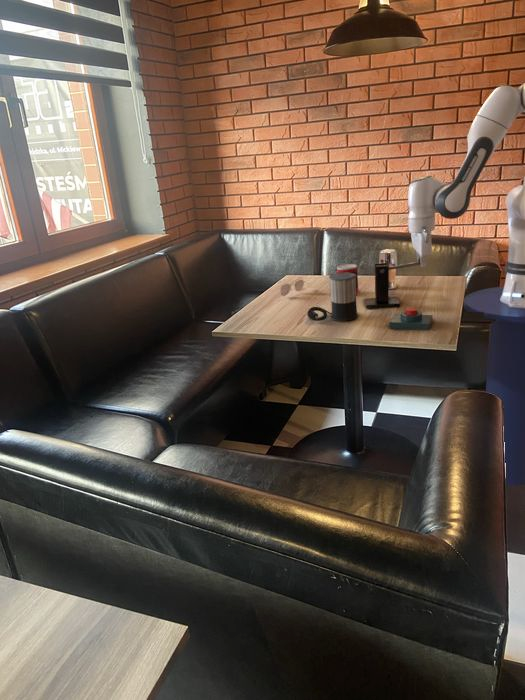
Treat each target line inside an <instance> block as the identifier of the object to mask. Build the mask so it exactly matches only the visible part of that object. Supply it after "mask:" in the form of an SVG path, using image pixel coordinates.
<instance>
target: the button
mask: <svg viewBox="0 0 525 700" xmlns="http://www.w3.org/2000/svg"><path fill="white" fill-rule="evenodd" d="M405 311H406V315H417V311H418V308H417V307H406V308H405Z"/></svg>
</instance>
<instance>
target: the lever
mask: <svg viewBox="0 0 525 700" xmlns="http://www.w3.org/2000/svg"><path fill="white" fill-rule="evenodd" d="M420 261H421V260H419V261H418V260H417V261H414V262H409V263H402V264H397V265H395V266H389V267H388V270H392V269H396V270H397V269H402V268H403V269H404V268H410V267H415V266H421V265H420Z"/></svg>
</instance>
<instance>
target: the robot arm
mask: <svg viewBox="0 0 525 700" xmlns="http://www.w3.org/2000/svg"><path fill="white" fill-rule="evenodd" d="M519 115H525V82H523V83H522V84H521V85H519V86H518V87H513V86H511V85H500V86H498V87H496V88H495V89H494V90H493V91H492V92H491V93H490V94H489V96H488V97H487V99H486V100H485V101H484V103H483V104H482V106H481V107H480V109H479V111H478V112H477V113H476V115H475V118H474V119H473V121H472V123H471V125H470V128H469V130H468V132H467V136H466V141H467V153H466V157H465V159H464V160H463V162H462V165H461V166H460V168H459V170H458V172H457V174H456V175H455V177H454V180H453V181H452V182H451V183H448V182H445V181H441V180H439V179H438V178H435V177H434V176H433V175H424V176H419V177H417V178H414V179H413V180H412V181H411V182H410V183H409V186H408V191H407V192H408V194H407V204H408V205H407V206H408V211H409V213H408V215H407V218H408V220H407V222H408V224H407V225H408V232H409V233H410V237H411V238H410V239H411V245H412V248H413V249H414V250H415V251H416V257H417V262H418V261H419V260H421V261H420V265H419V266H420V267H421V268H426V267H427V260H428V257H429V258H430V257H432V255H433V254H432V253H433V244H432V241H433V240H432V232H433V231H435V230H436V214H437V213H438V214H439V215H440V216H441V217H443V218H445V219H448V220H454V219H455V220H456V219H457V218H460V217H462V216H463V215H464V214H465V213H466V212H467V211H468V209H469V207H470V203H471V195H472V191H473V188H474V187H475V185H476V183H477V181H478V180H479V177H480V175H481V174H482V172H483V170H484V168H485V166H486V164H487V162H488V160H489V159H490V158H491V156H492V155H493V154H494V152H495V151H496V149H497V148H498V147H499V146H500V144H501V142H502V141H503V139H504V138H505V136H506V135H507V133H508V132H509V130H510V128H511V126H512V125H513V122H514V121H515V120H516V118H518V116H519ZM505 206H506V213H507V214H506V215H507V226H508V227H507V228H508V238H509V239H508V252H507V260H506V262H505V263H506V264H505V271H504V273H505V281H504V285H503V287H504V289H503V293H502V295H501V298H500V301H501V302H503V303H505V304H507V305H508V306H509V307H513V308H525V177H524V179H523V184H521V185H517V186H515V187H514V188H512V189H510V191H509V192H508V193H507V195H506V197H505Z"/></svg>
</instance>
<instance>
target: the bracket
mask: <svg viewBox="0 0 525 700" xmlns="http://www.w3.org/2000/svg"><path fill="white" fill-rule="evenodd" d="M389 290H390V289H389V271H388V265H387V263H379V262H375V263H374V297H367V298H364V303H365V305H364V306H365V308H366V309H380V308H398V307H399V308H400V307H401V302H400V301H399V298H398V296H389V295H390V293H389V292H390V291H389Z"/></svg>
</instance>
